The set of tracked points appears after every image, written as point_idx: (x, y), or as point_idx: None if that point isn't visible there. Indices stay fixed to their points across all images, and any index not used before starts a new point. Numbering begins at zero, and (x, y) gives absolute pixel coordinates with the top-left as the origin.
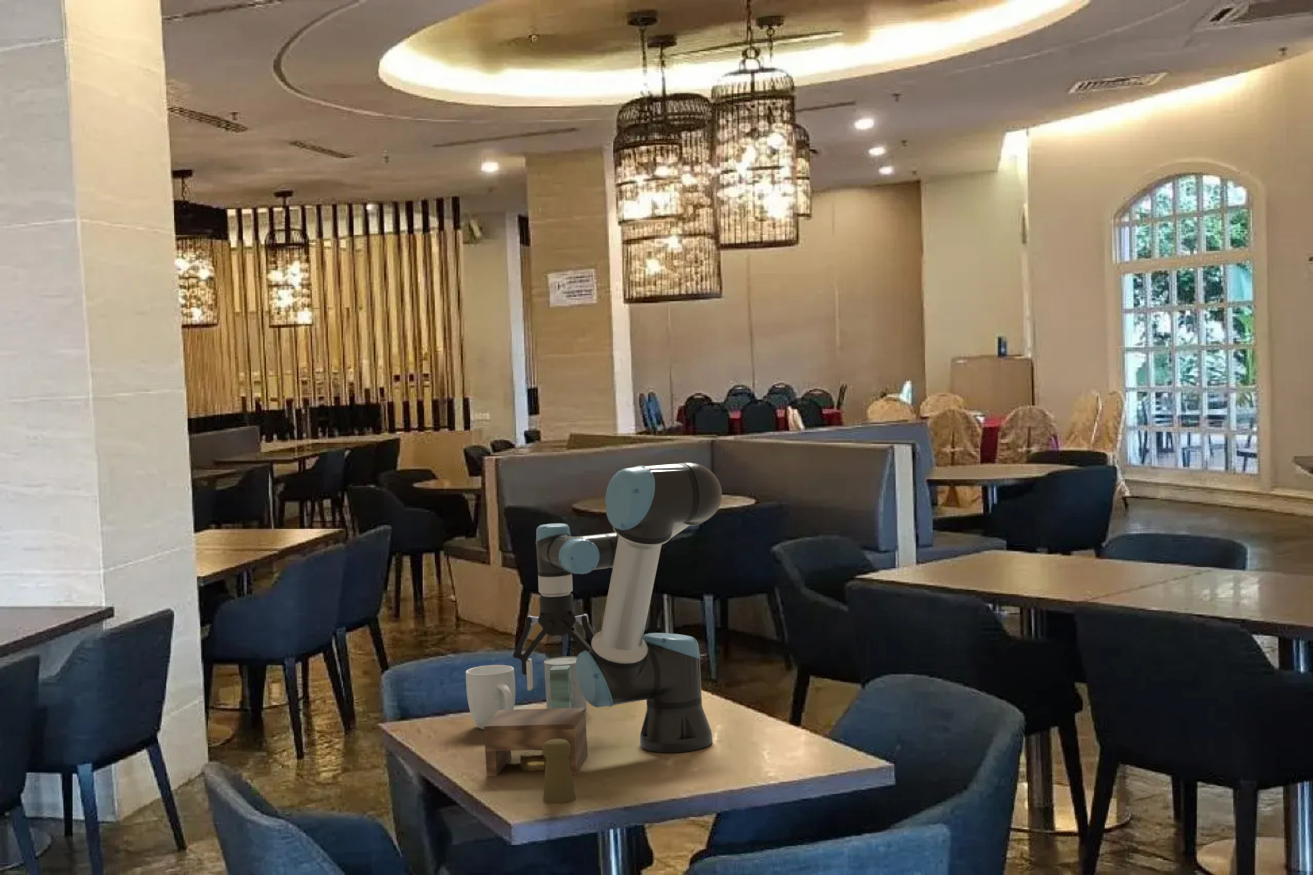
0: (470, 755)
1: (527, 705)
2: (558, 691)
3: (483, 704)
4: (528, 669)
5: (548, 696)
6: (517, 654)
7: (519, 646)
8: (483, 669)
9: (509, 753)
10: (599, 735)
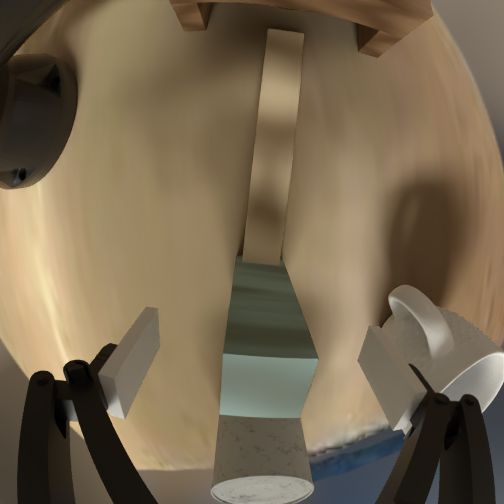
0: (437, 103)
1: (326, 443)
2: (270, 304)
3: (454, 314)
4: (405, 370)
5: (298, 422)
6: (467, 405)
7: (477, 431)
8: None
9: (362, 33)
10: (161, 207)
